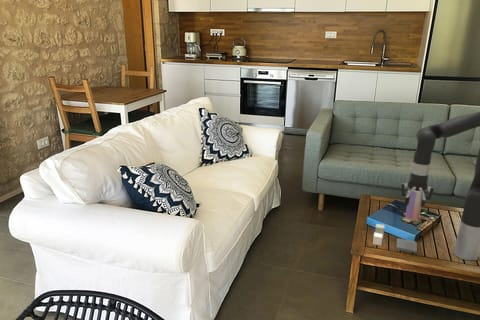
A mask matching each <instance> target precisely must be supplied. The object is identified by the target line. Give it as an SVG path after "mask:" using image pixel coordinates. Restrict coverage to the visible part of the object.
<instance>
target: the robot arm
mask: <svg viewBox="0 0 480 320" xmlns="http://www.w3.org/2000/svg"><path fill="white" fill-rule="evenodd" d="M479 127H480V110H479V111H477V112H473V113H468V114H463V115H459V116H456V117H453V118H450V119H448V120H445V121H442V122H440V123H436V124H432V125H428V126H424V127H423V128H421V129H419V130H418V131H417V132H416V139H417V145H416V150H415V151H414V155H413V160H412V164H411V169H410V172H409V173H410V175H409V178H408V180H409V181H408V182H404V181H402V182H401V196H402V197H405V198H404V204H405V205H406V206H407V205H408V200H409V196H410V194H411V191H412V190H420V191H423V192H424V193H423V200H422V204H421V208H423V207H425V206H426V205H425V204H426V202H427V200H428V201H430V200H431V198H432V196H433V193H434V190H435V188H434V186H429V185H428V181H429V175H430V170H431V168H430V167H431V166H430V165H431V161H432V154H433V151H434V149H435V144H436V140H438V139H441V138H444V139H447V138H451V137H454V136H456V135H457V136H458V135H459V134H462V133H465V132H467V131H470V130H473V129H476V128H479ZM472 179H473V180H472V182H471V184H470V187H469V189H468V191H467V192H466V196H465V200H464V205H463V211H462V214H461V218H460V222H459V228H458V232H457V236H456V240H455V245H454V248H453V254H454V255H455V257H457V258H459V259H461V260H464V261H477V260H478V257H479V253H480V148H479V150H478V153H477V157H476V160H475V166H474V176H473V178H472ZM407 187H408V190H407V191H406V192H405V189H406V188H407ZM426 190H428V193H427V195H425V191H426Z"/></svg>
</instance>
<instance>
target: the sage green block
mask: <svg viewBox="0 0 480 320" xmlns="http://www.w3.org/2000/svg"><path fill="white" fill-rule="evenodd" d="M374 230H375V231H374V232H375V233H380V234H383V235H384V232H385V225H384V224H381V223H376V224H375V229H374Z"/></svg>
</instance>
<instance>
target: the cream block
mask: <svg viewBox="0 0 480 320" xmlns="http://www.w3.org/2000/svg"><path fill="white" fill-rule="evenodd" d="M383 237H384V233H383V234H380V233H375V231H374V232H373V237H372V245H374V246H375V245H376V246H382V242H383Z"/></svg>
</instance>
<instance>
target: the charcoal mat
mask: <svg viewBox="0 0 480 320" xmlns="http://www.w3.org/2000/svg"><path fill="white" fill-rule="evenodd" d="M417 244H418V243H417V241H413V240H409V239H403V238H399V237H398V238H396V250H399V251H404V252H409V253H413V254H417V253H418V245H417Z"/></svg>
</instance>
